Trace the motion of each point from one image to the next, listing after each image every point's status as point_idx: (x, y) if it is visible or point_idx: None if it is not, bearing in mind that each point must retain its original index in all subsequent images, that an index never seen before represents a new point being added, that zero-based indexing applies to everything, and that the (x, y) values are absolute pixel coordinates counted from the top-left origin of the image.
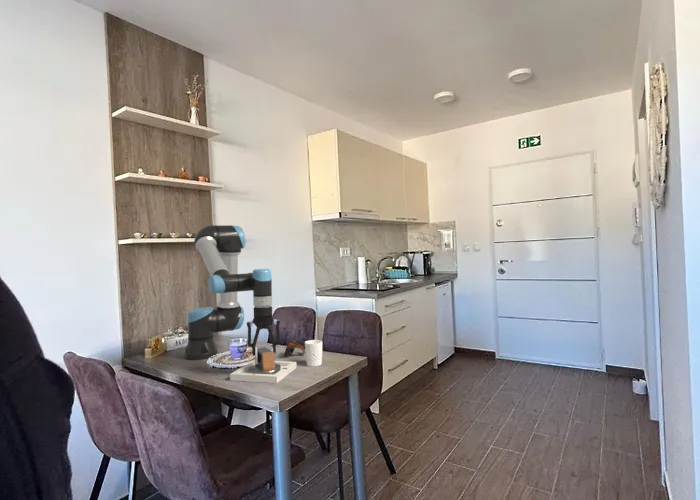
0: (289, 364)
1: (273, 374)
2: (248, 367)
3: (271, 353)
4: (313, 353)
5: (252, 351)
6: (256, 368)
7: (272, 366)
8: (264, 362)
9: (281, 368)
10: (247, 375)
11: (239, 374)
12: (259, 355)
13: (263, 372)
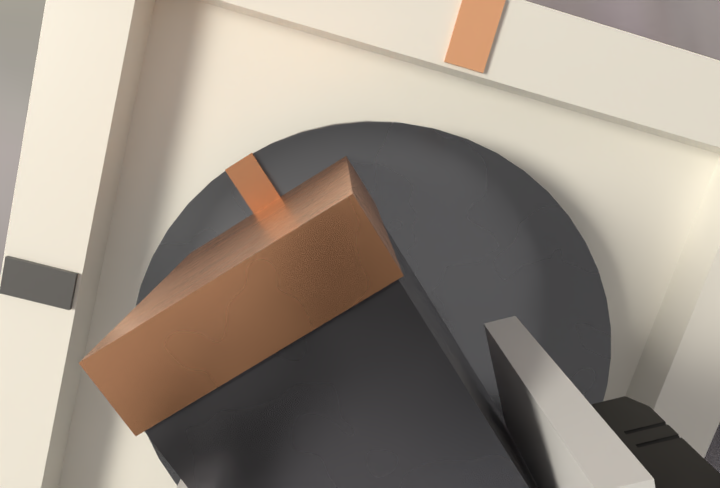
0: (21, 484)
1: None
2: None
3: (158, 311)
4: None
5: (686, 443)
6: None
7: (211, 244)
8: (330, 181)
9: None
10: (575, 16)
11: (708, 62)
12: (481, 401)
13: (344, 125)
